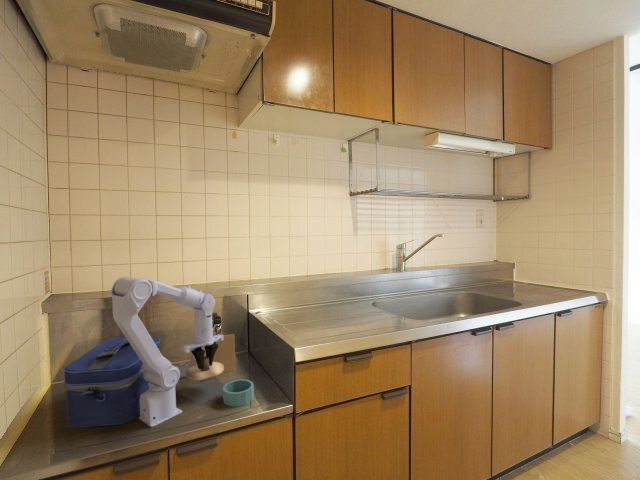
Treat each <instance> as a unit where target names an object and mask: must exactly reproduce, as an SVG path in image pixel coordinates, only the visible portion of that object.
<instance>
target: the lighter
mask: <svg viewBox="0 0 640 480" xmlns="http://www.w3.org/2000/svg"><path fill="white" fill-rule="evenodd" d="M195 362H196V359H195V357H194V356H193V354H192V355H191V357H190V359H189V362H188V363H187V364H186V362H182V363H179V364H178V365H177V366H176V367H177V368H178V369H179V371H180V377H179V379H181V378H185V377H186V371H187V370H188V369H189V367H192V366H194V363H195ZM186 378H187V377H186Z"/></svg>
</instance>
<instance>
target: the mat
mask: <svg viewBox="0 0 640 480" xmlns="http://www.w3.org/2000/svg"><path fill="white" fill-rule="evenodd" d="M225 384H226V383H225ZM225 384H224V383H221V382H219V381H218V380H216V379H213V378H210V379H206V380H205V381H204V380H203V381H202V382H201V383H198V384H195V385H193V386H191V387H189V388H186V389H185V390H183V391H180V392H178V394H179V395H180V396H183V397H184V398H186V399H188V400H190V401H192V402H194V403H196V404H198V405H200V406H202V405H203V404H205V403H208V402H210V401H211V400H213V399H215V398H217V397H220V396H223V387H224V385H225Z"/></svg>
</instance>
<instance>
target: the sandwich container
mask: <svg viewBox="0 0 640 480" xmlns="http://www.w3.org/2000/svg"><path fill="white" fill-rule="evenodd" d="M223 337H224V340H223V341H218V342H216V344H218V348H217V350H216V352H215V355H214V358H213V362H219V363H221V364H223V365H224V371H223V372H222V373H221V374H224V373H230V372H235V371H236V350H235V349H236V348H235V347H236V346H235V345H236V344H235V343H236V342H235V339H236V338H235V337H236V336H235V333H232V334H226V335H225V334H224V335H223Z"/></svg>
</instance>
